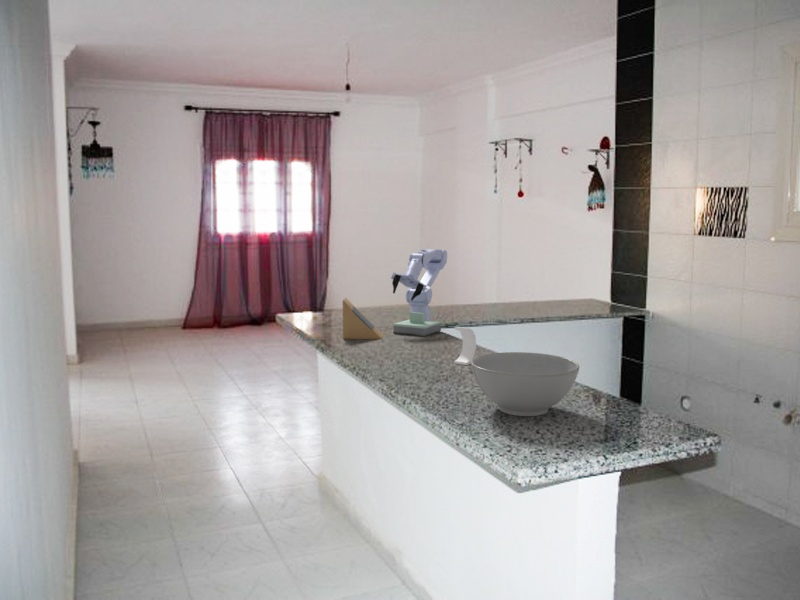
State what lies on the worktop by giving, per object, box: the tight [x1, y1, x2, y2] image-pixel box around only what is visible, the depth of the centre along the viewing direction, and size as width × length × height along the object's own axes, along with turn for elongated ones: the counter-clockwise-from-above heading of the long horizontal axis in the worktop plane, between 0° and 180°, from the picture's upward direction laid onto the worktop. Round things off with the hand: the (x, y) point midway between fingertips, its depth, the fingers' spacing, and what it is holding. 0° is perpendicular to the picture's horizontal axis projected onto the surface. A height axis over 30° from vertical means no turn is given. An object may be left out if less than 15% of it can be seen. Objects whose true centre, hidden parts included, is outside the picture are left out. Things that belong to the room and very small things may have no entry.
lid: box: [392, 311, 442, 329], centre depth 300 cm, size 14×14×5 cm
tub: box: [392, 324, 442, 337], centre depth 301 cm, size 14×14×3 cm
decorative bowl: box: [470, 351, 580, 417], centre depth 188 cm, size 27×27×12 cm
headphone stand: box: [453, 326, 477, 366], centre depth 243 cm, size 5×6×12 cm
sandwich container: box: [342, 297, 385, 340], centre depth 289 cm, size 9×15×15 cm, turn 87°
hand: (403, 295), depth 296 cm, fingers open, 7 cm apart
